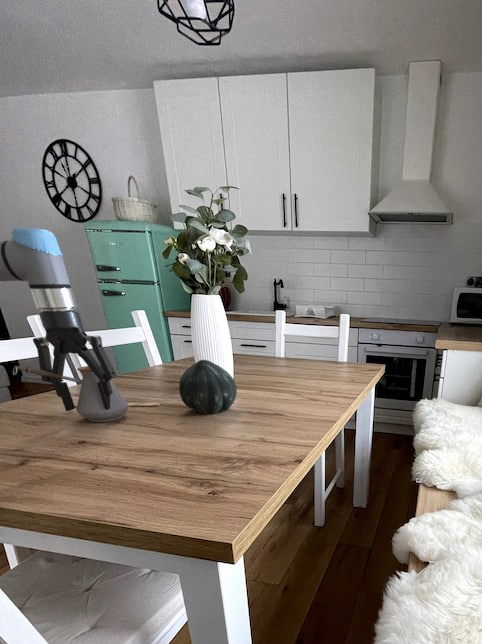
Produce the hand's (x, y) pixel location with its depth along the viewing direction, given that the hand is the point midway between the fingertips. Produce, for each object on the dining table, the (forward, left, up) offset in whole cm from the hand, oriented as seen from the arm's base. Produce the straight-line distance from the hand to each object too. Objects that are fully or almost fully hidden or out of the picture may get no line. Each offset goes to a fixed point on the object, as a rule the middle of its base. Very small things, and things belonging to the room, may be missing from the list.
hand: (90, 408), depth 98 cm
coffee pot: (-2, 0, -4) cm, 4 cm away
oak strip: (-1, +16, -3) cm, 17 cm away
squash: (+27, +10, -4) cm, 29 cm away
